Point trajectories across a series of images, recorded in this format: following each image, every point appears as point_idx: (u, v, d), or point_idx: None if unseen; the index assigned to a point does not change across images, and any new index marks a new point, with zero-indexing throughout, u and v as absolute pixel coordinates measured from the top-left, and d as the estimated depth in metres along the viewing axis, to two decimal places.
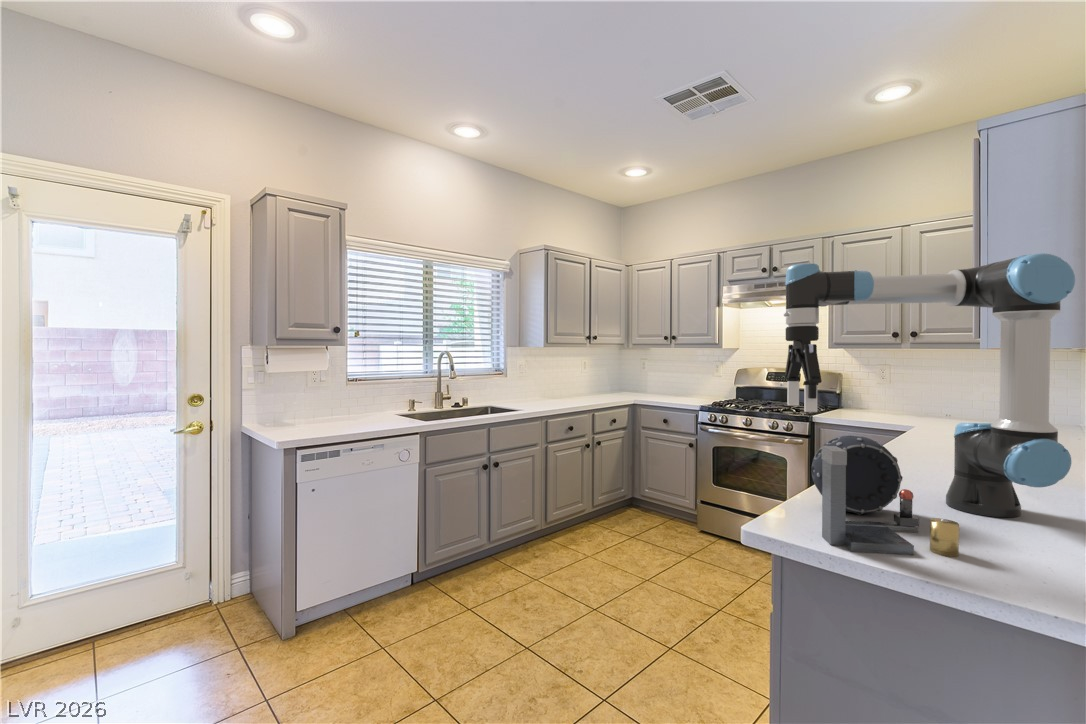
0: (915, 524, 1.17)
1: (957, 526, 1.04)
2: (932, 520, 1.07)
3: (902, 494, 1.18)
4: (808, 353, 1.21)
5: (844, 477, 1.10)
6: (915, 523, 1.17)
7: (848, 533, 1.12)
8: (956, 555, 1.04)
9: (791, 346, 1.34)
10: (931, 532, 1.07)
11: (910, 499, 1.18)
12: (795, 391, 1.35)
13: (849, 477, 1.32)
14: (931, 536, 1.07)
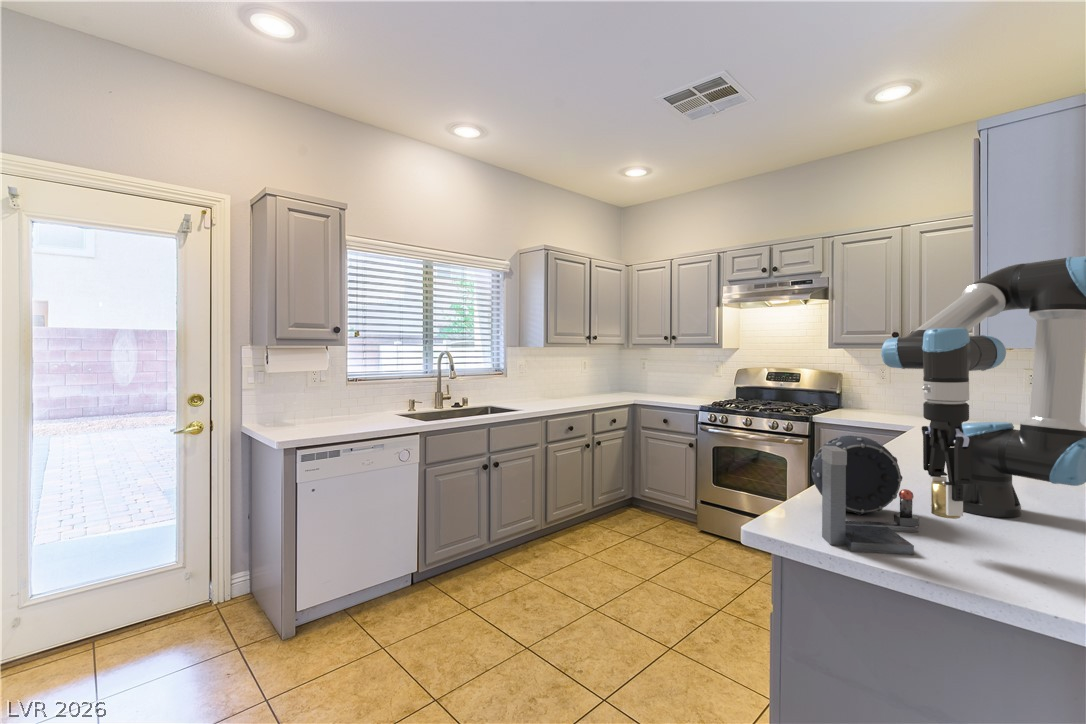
0: (915, 524, 1.17)
1: None
2: (933, 483, 1.07)
3: (902, 494, 1.18)
4: (960, 448, 1.00)
5: (844, 477, 1.10)
6: (915, 523, 1.17)
7: (848, 533, 1.12)
8: (958, 516, 1.04)
9: (926, 427, 1.11)
10: (932, 495, 1.07)
11: (910, 499, 1.18)
12: None
13: (849, 477, 1.32)
14: (933, 499, 1.07)
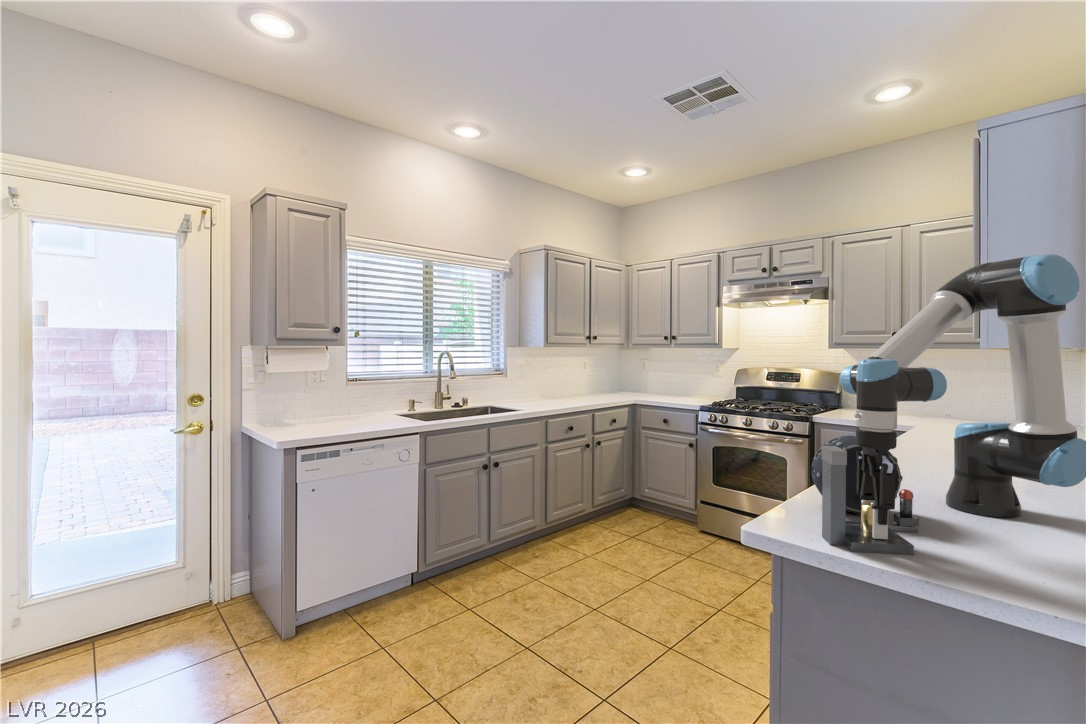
0: (915, 524, 1.17)
1: None
2: (863, 504, 1.12)
3: (902, 494, 1.18)
4: (885, 474, 1.05)
5: (844, 477, 1.10)
6: (915, 523, 1.17)
7: (848, 533, 1.12)
8: None
9: (859, 453, 1.16)
10: (862, 515, 1.12)
11: (910, 499, 1.18)
12: None
13: (849, 477, 1.32)
14: (862, 519, 1.12)
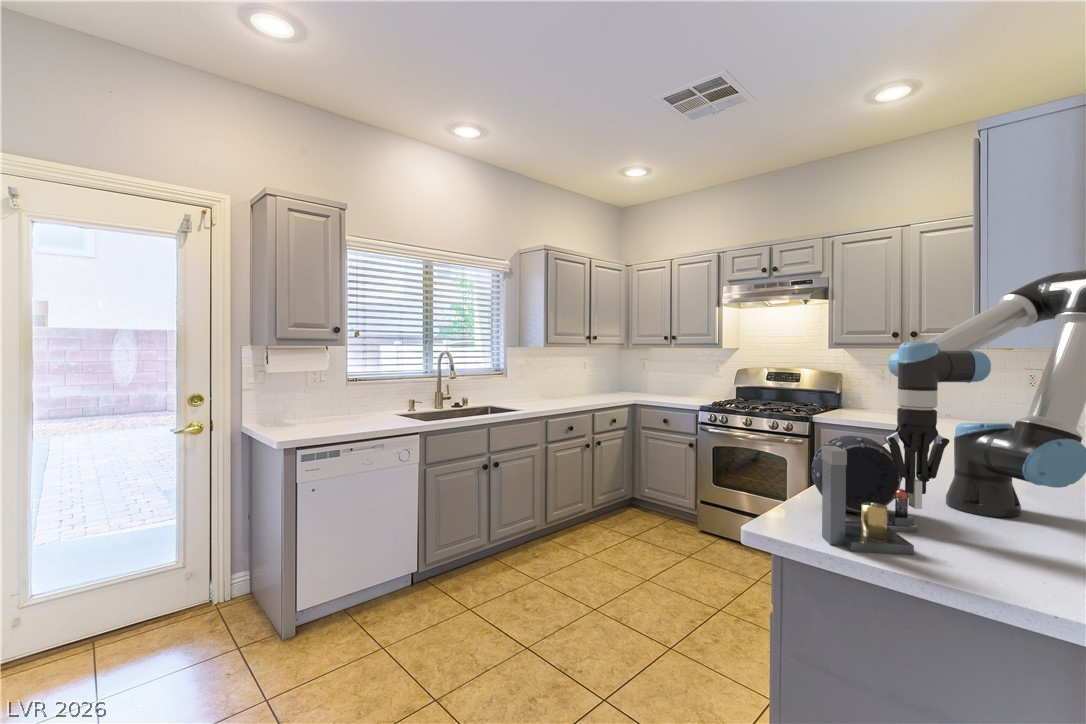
0: (910, 524, 1.18)
1: (885, 509, 1.09)
2: (863, 504, 1.12)
3: (897, 494, 1.19)
4: (890, 445, 1.20)
5: (844, 477, 1.10)
6: (910, 523, 1.18)
7: (848, 533, 1.12)
8: (884, 537, 1.09)
9: None
10: (862, 515, 1.12)
11: (905, 499, 1.18)
12: None
13: (849, 477, 1.32)
14: (862, 519, 1.12)
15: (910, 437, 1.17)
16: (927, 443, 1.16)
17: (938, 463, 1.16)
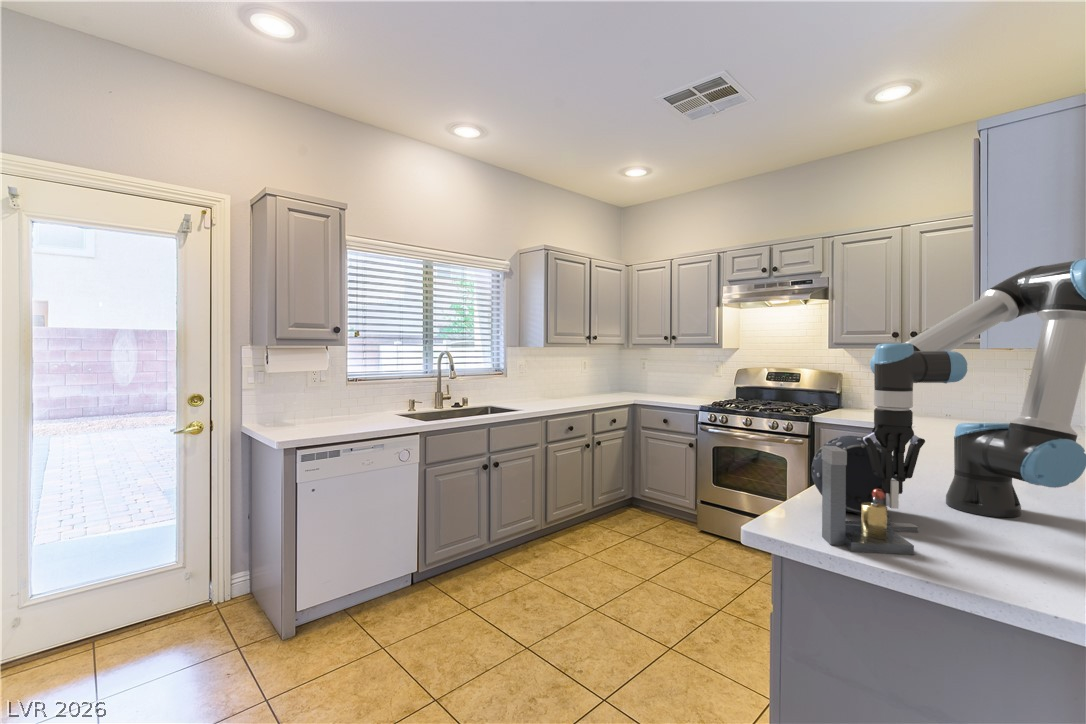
0: (887, 523, 1.18)
1: (885, 509, 1.09)
2: (863, 504, 1.12)
3: (874, 493, 1.19)
4: (867, 446, 1.21)
5: (844, 477, 1.10)
6: (887, 522, 1.18)
7: (848, 533, 1.12)
8: (884, 537, 1.09)
9: None
10: (862, 515, 1.12)
11: (882, 498, 1.19)
12: None
13: (849, 477, 1.32)
14: (862, 519, 1.12)
15: (886, 437, 1.18)
16: (903, 443, 1.17)
17: (914, 463, 1.17)
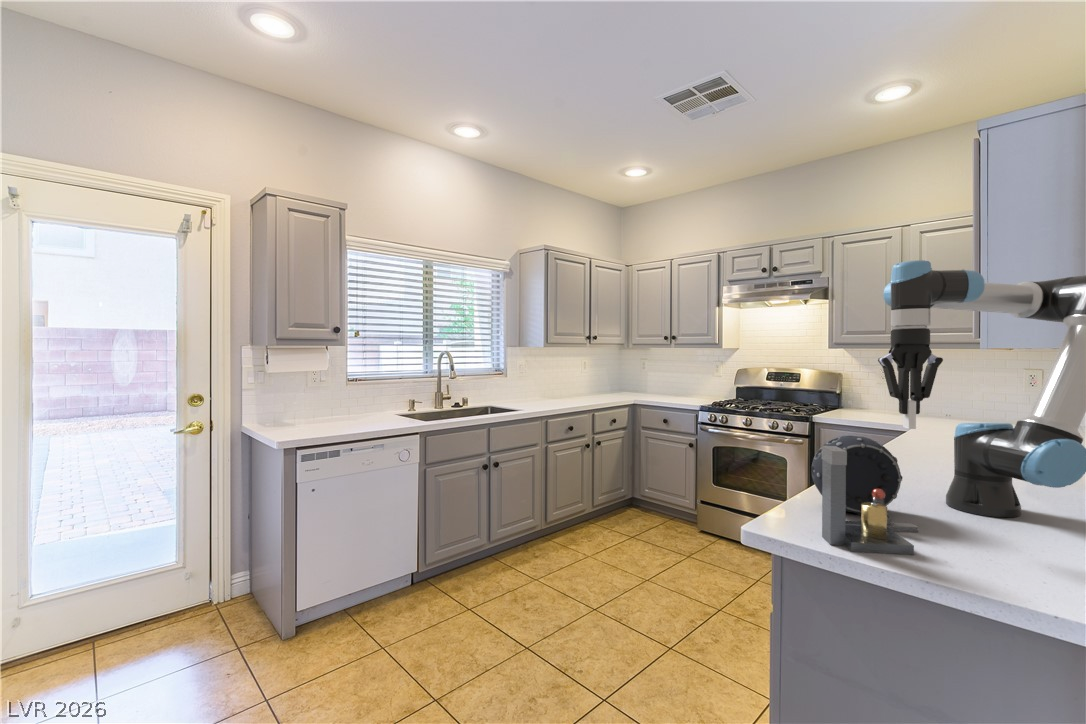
0: (887, 523, 1.18)
1: (885, 509, 1.09)
2: (863, 504, 1.12)
3: (874, 493, 1.19)
4: (883, 367, 1.20)
5: (844, 477, 1.10)
6: (887, 522, 1.18)
7: (848, 533, 1.12)
8: (884, 537, 1.09)
9: None
10: (862, 515, 1.12)
11: (882, 498, 1.19)
12: None
13: (849, 477, 1.32)
14: (862, 519, 1.12)
15: (903, 356, 1.17)
16: (920, 362, 1.16)
17: (932, 382, 1.16)
